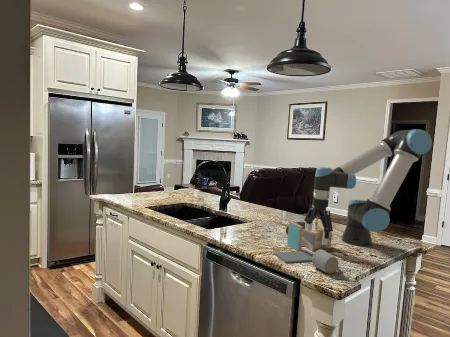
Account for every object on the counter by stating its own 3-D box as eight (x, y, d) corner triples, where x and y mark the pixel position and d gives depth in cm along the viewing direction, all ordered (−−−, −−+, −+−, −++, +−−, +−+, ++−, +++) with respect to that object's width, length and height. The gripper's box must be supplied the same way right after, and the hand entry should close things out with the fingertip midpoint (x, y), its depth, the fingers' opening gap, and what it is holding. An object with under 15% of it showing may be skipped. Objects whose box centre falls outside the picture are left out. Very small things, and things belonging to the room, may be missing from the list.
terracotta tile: (289, 244, 163) (291, 221, 162) (300, 251, 153) (302, 226, 152) (287, 245, 162) (289, 221, 161) (297, 251, 153) (299, 226, 152)
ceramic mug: (325, 275, 126) (327, 256, 125) (310, 268, 133) (312, 249, 132) (344, 272, 131) (346, 254, 130) (329, 265, 138) (331, 247, 137)
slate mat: (302, 252, 152) (302, 251, 152) (315, 261, 141) (316, 259, 141) (273, 254, 147) (273, 252, 147) (285, 263, 136) (285, 261, 136)
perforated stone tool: (288, 237, 177) (289, 224, 176) (281, 234, 181) (282, 222, 180) (307, 234, 185) (308, 222, 184) (300, 232, 189) (301, 220, 189)
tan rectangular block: (322, 243, 169) (323, 228, 168) (334, 249, 160) (336, 233, 159) (300, 244, 165) (302, 229, 164) (312, 251, 155) (313, 234, 155)
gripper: (300, 193, 170) (296, 233, 172) (330, 203, 147) (325, 248, 149) (312, 194, 173) (308, 233, 175) (344, 203, 150) (338, 248, 151)
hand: (316, 240), depth 162 cm, fingers open, 13 cm apart
